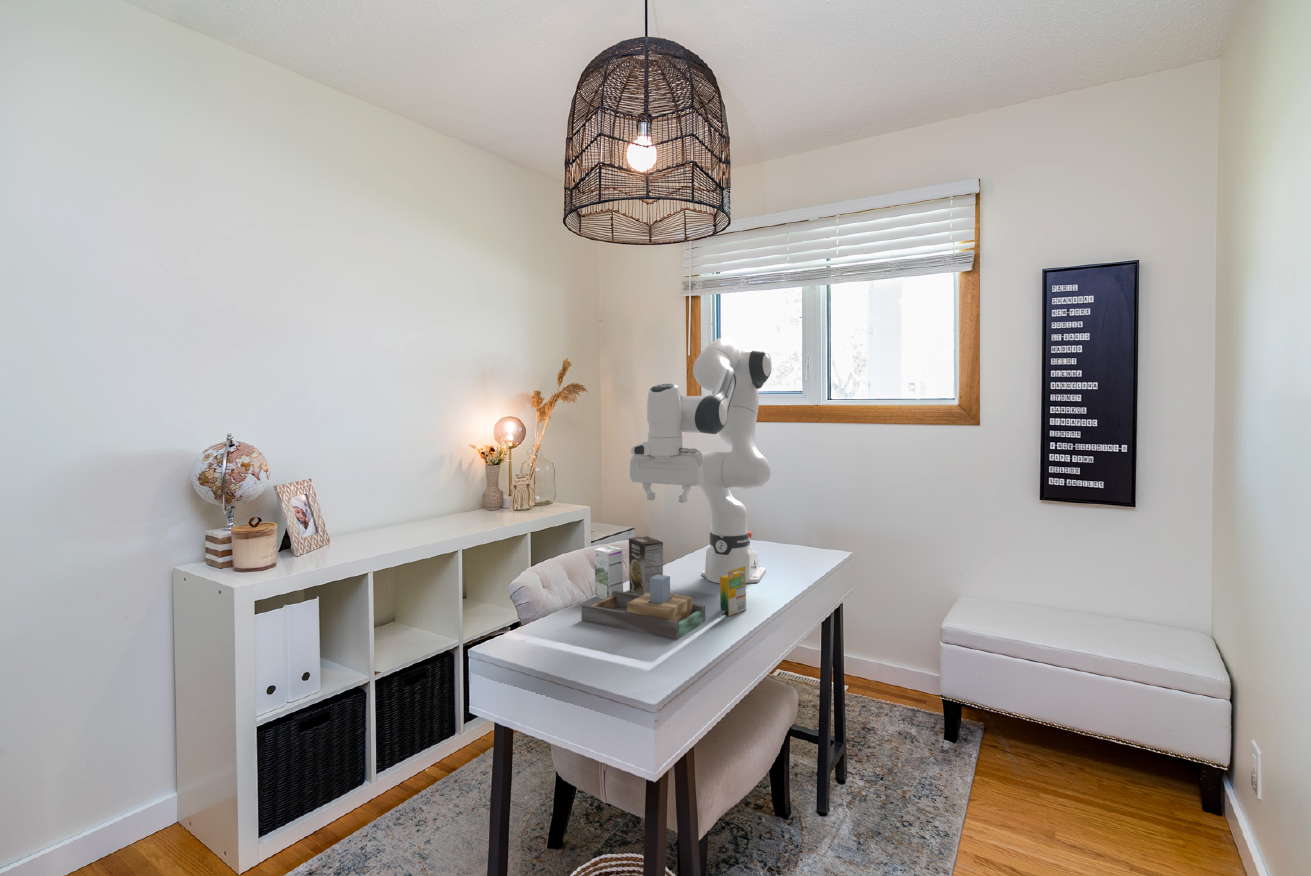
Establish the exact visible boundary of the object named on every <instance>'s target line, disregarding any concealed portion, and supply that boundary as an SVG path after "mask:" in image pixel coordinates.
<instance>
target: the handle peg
mask: <svg viewBox="0 0 1311 876" xmlns="http://www.w3.org/2000/svg"><path fill="white" fill-rule="evenodd" d="M670 594H671V576H670V575H664V574H663V575H655V576H653V577H651V578H650V603H653V604H659V605H661V604H663V603H665V602H667V601H668V600H670Z"/></svg>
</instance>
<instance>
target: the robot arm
mask: <svg viewBox="0 0 1311 876" xmlns="http://www.w3.org/2000/svg"><path fill="white" fill-rule="evenodd" d="M694 361H695V362H694V364H693V369H692V373H693V378H694V379H695V380H696V381H695V382H697V384H698V385H699V386H700V387H701V388H703V389H704V390H706V391H709V392H713V393H712V394H708V395H693V396H692V395H686V396H684V394H681V393H680V389H679V386H678V385H677V384H674V383H664V384H663V383H662V384H656V385H654V386H652V387H651V388H649V390H648V394H647V401H646V403H647V404H646V420H647V421H646V422H647V423H648V433H647V441H645V442H643V443H640V444H636V445H634V446H632V447H631V448H630V452H631V455H632V456H631V458H630V462H629V479H630V480H631V482H632V483H638V484H639V483H640V484H642V488H643V489H644V491H645V493H646V499H647V501H654V500H656V492H653V491H652V489H651V486H652V484H658V485H676V486H682V490H683V492H682V494H680V495H678V502H679V503H681V504H682V503H684V504H685V503H687V502H688V495H689V493H690V491H691V489H692V487H693V486H694V487H696V486H698V488H699V489H700V490H701V492H702V494H704V496H705V498H706V500H707V503H708V506H709V507H708V508H709V512H710V532H709V538H708V539H709V545H710V546H709V547H708V548H707V549H706V552H705V565H704V570H702V571H701V576H703V577H705V578H706V580H708V581H710V582H712V583H716V584H720V577H721V576H725V575H728V571H731V570H734V569H738V568H741V567H744V566H745V570H746V572H745V578H746V584H748V583H759V581H761V579H762V578H763V576H764V575H765V573H766V572H767V568H766V567H764V566H761V565H759V554H758V552H757V551H756V550H755V549H754V547H753V546H751V539H752V538H753V532H752V531H748V511H747V508H746V506H745V504H744V503H743V502H741V501H740V500H738V499H736V498H735V497H734V496H733V494H732V492H731V490H730V489H737V490H738V489H739V490H741V489H742V490H750V489H751V490H753V489H757V488H763V487H765V485H766V484H767V483H768V481H769V479H770V476H771V465H770V463H769V460H768V459H767V458H766V457H765V456H764V455H763V454H762V453H761V452H760V451H759V449H758V448H757V445H756V441H755V433H756V426H757V419H758V414H759V402H760V401H759V398H760V397H759V390H760V389H761V388H762V387H763V385H764V384H765V383H766V382H767V381H768V379H769V378H770V376H771V373H772V359H771V356H770V354H769V353H768V351H766V350H765V349H762V348H753V349H750V348H748V349H747V348H743V349H742V348H741V349H740V348H739V345H738V344H737V342H735V340H734V339H731V338H730V337H725V336H724V337H718V338H716V339H714V340H713V341H712V342H711V343H709V344H708V345H706V347H705V348H704V349H703V350H702V351H701V353H700V354H698V356H697V357H696V359H695V360H694ZM683 433H693V434H695V433H697V434H698V433H702V434H709V435H717V434H719V437H720V438H721V440H722V441H723V442H725V443H726V444H727V445H729V446H731V450H730V451H727V452H726V451H707V452H702V451H700V450H698V449H697V448H687V447H684V446H683ZM736 572H741V571H740V570H739V571H736ZM733 573H734V572H733ZM761 577H762V578H761Z"/></svg>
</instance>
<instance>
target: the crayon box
mask: <svg viewBox="0 0 1311 876" xmlns="http://www.w3.org/2000/svg"><path fill="white" fill-rule="evenodd" d="M739 570H740V571H741V572H736V571H739ZM733 572H734V573H733ZM745 572H746V570H745V566H744V567H741V568H738V569H734V570H731V571H728V575H725V576H721V577H720V583H719V597H720V601H719V602H720V611H723V613H722V614H721V616H722V615H723V616H724V617H725V616H726V617H731V616H733V615H736V614H738V613H741V612H744V611H746V610H747V592H746V591H747V590H746V589H747V587H746V584H747V583H746V578H745Z"/></svg>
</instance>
